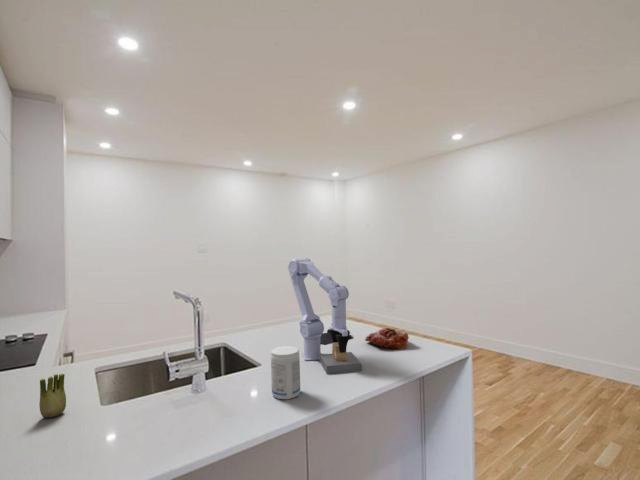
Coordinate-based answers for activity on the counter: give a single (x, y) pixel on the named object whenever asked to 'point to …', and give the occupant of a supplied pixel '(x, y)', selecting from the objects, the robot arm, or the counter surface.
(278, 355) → the supplement tub
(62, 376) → the fennel bulb
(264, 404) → the counter surface
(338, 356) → the oak block
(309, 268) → the robot arm
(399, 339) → the meat
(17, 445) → the counter surface
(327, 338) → the dark slate chunk
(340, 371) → the slate base
